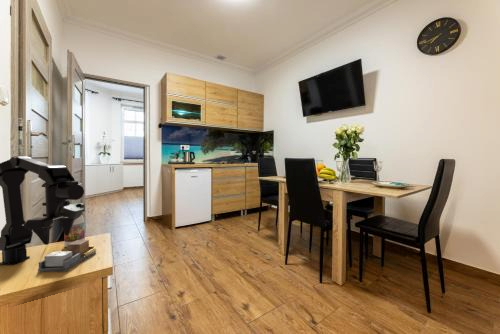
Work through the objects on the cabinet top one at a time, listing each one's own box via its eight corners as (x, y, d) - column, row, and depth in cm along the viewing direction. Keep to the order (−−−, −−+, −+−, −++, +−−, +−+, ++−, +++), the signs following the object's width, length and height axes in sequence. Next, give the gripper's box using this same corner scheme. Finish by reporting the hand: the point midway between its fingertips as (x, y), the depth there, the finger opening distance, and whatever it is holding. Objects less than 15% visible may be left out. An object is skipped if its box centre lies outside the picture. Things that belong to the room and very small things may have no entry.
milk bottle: (61, 245, 103) (60, 204, 102) (81, 240, 109) (80, 202, 109) (68, 249, 99) (67, 206, 98) (87, 243, 105) (86, 203, 105)
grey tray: (38, 272, 78) (37, 262, 78) (73, 252, 95) (73, 245, 95) (65, 271, 79) (65, 262, 79) (96, 252, 95) (96, 244, 95)
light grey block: (44, 266, 79) (44, 256, 79) (57, 260, 85) (56, 250, 84) (63, 266, 80) (63, 255, 79) (74, 259, 85) (74, 250, 85)
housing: (68, 256, 89) (67, 244, 89) (77, 251, 94) (77, 240, 94) (80, 256, 89) (79, 244, 89) (89, 251, 94) (88, 239, 94)
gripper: (57, 203, 71) (59, 249, 72) (94, 194, 90) (95, 231, 90) (22, 204, 71) (24, 250, 71) (67, 195, 89) (68, 231, 90)
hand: (57, 239), depth 80 cm, fingers open, 9 cm apart
